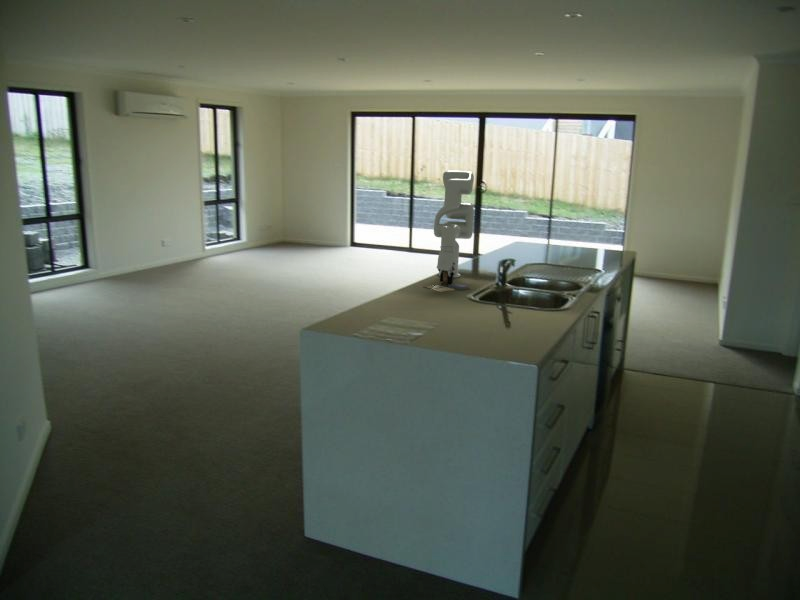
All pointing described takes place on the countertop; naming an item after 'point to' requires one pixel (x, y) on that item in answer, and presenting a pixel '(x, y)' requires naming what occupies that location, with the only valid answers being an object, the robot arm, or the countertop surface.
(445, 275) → the stamp
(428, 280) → the countertop surface
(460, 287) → the ink pad
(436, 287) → the card sheet
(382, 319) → the countertop surface
